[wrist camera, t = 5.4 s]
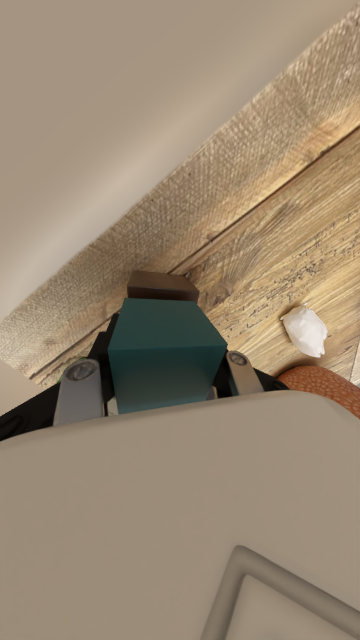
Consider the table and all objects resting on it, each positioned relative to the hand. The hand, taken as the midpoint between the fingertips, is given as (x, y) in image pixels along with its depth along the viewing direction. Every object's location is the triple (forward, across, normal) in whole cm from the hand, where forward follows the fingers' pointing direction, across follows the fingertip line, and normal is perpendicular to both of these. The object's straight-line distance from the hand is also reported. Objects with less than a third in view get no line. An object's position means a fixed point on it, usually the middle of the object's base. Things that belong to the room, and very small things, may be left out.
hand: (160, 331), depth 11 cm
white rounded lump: (+8, -26, +4) cm, 27 cm away
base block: (+8, -1, 0) cm, 8 cm away
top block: (0, 0, 0) cm, 0 cm away
